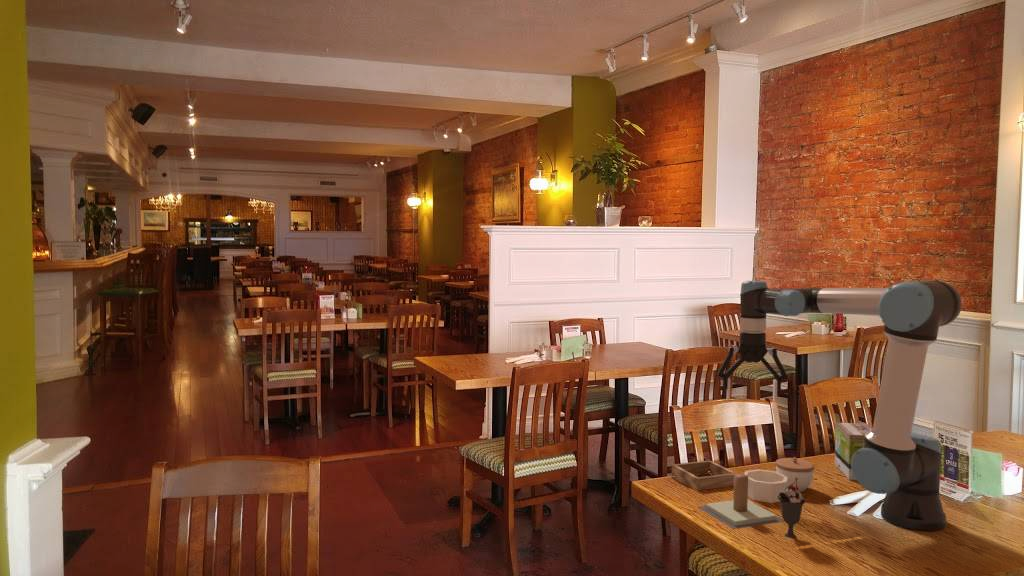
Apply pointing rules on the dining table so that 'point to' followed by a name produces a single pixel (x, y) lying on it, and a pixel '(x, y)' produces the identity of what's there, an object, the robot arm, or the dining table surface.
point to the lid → (740, 506)
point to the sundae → (791, 507)
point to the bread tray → (689, 470)
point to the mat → (739, 525)
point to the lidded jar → (796, 471)
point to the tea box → (848, 445)
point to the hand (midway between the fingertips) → (751, 400)
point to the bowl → (765, 485)
